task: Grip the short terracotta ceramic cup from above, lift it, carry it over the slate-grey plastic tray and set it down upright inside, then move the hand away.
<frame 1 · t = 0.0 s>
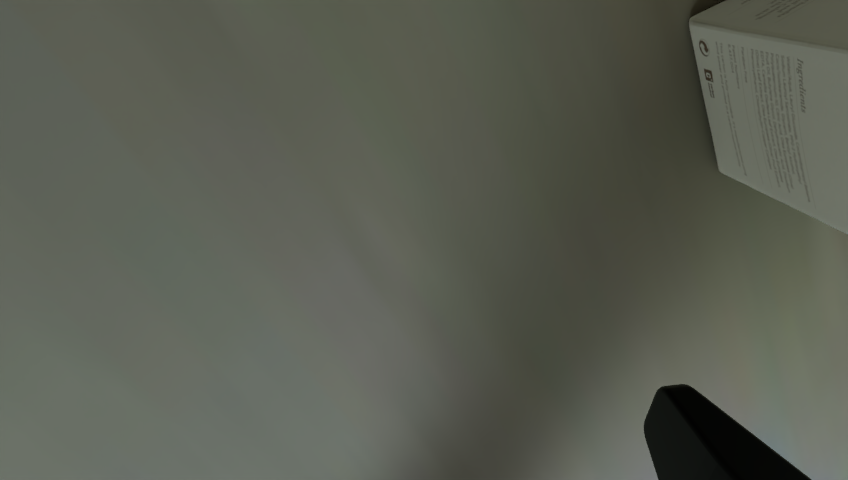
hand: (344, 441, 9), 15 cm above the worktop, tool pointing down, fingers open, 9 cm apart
skincare box: (796, 46, 26), on the worktop
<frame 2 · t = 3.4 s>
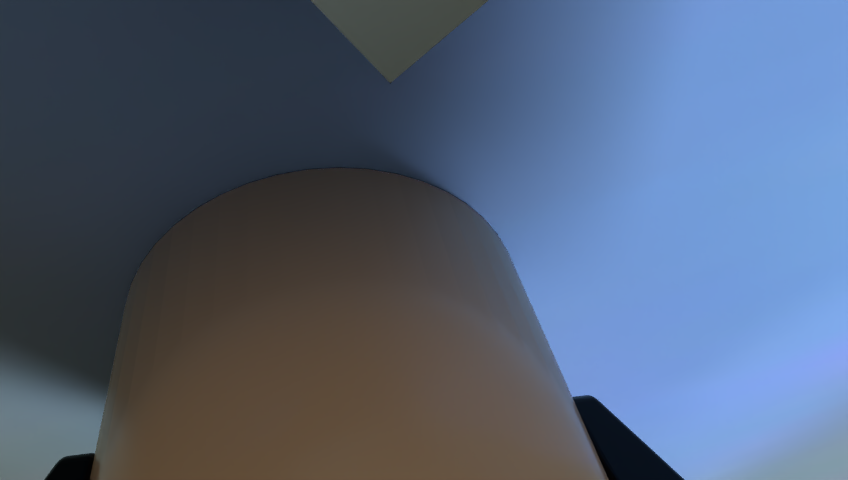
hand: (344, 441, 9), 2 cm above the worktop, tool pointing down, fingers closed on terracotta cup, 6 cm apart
terracotta cup: (331, 331, 11), on the worktop, touching gripper
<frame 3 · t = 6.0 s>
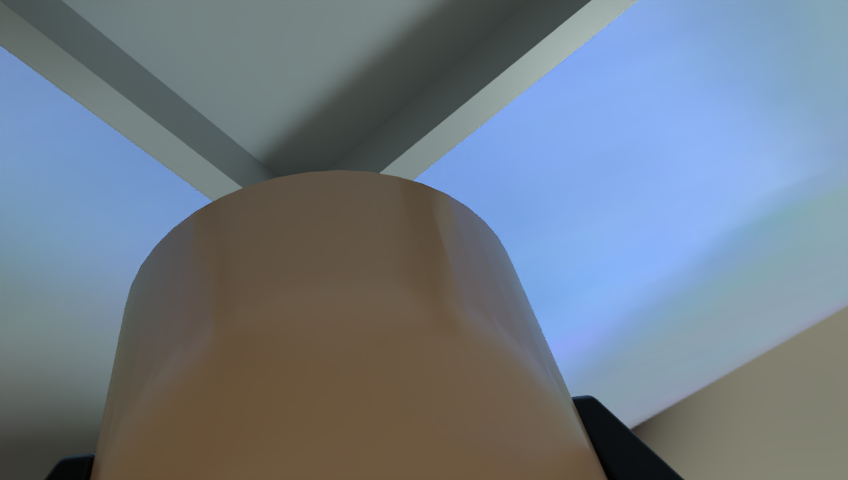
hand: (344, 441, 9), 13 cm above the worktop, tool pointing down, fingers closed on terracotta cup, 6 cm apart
terracotta cup: (331, 333, 11), point 10 cm above the worktop, touching gripper
when the fingers open (4 cm above the worktop, at t = 8.4 s): terracotta cup drops 1 cm, resting on tray.
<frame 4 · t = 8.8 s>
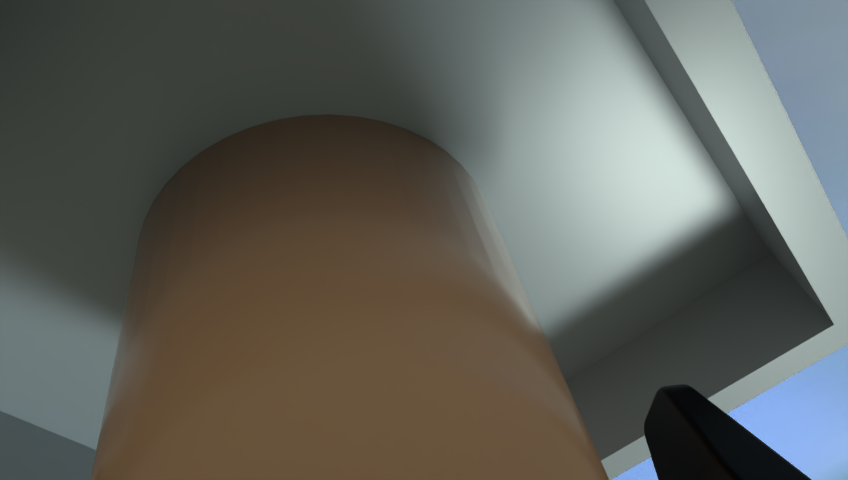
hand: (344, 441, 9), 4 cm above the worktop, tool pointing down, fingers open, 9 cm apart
terracotta cup: (324, 271, 12), point 1 cm above the worktop, touching tray
tray: (320, 234, 13), on the worktop
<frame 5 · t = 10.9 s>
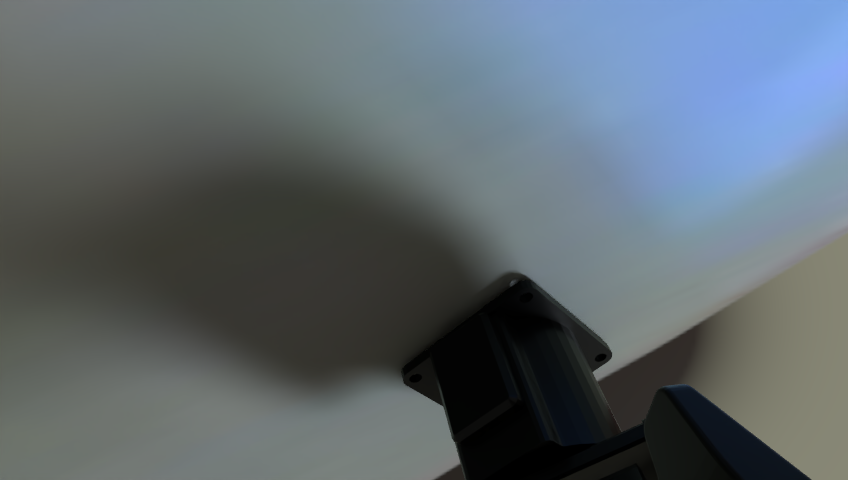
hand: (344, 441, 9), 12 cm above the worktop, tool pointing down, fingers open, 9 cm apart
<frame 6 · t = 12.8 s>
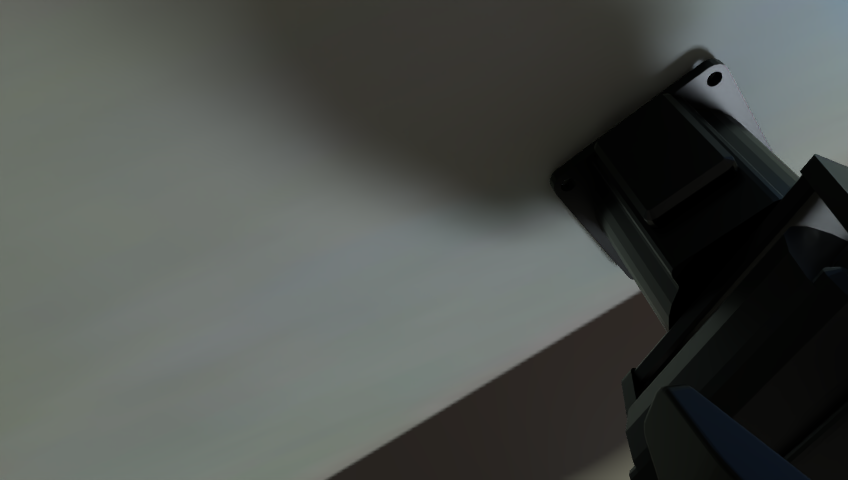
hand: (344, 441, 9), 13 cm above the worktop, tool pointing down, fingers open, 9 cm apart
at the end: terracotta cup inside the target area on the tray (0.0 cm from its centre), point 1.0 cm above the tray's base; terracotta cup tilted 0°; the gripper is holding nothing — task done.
